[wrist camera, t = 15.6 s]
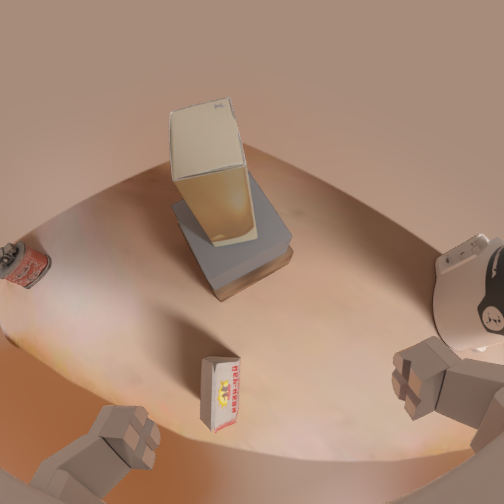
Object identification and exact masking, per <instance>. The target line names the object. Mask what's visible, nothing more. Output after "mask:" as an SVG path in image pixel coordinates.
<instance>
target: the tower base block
mask: <svg viewBox="0 0 504 504" xmlns="http://www.w3.org/2000/svg"><path fill="white" fill-rule="evenodd" d="M178 225H179V227H180V229H181V231H182V233H183V235H184V237H185V239H186V241H187V243H188V245H189V247H190V249H191V251H192V253H193V255H194V256H195V254H194V252H193V250H192V248H191V246H190V244H189V242H188V240H187V238H186V236H185V234H184V232H183V230H182V228H181V226H180V224H179V223H178ZM293 252H294V251H293V250H292V248H291V247H290V245H289V246H288V249H287V252H286V253H284V254H282V255H281V256H279V257H277V258H275V259H273V260H271V261H270V262H268V263H266V264H264V265H262V266H260V267H258V268H257V269H255V270H253V271H251V272H249V273H247V274H245V275H244V276H242V277H240V278H238V279H236V280H234V281H232V282H230V283H229V284H227V285H225V286H223V287H221V288H219V289H217V290H214V288H213V287H212V286H211V284H210V283H209V282H208V283H209V284H210V286H211V288H212V290H213V292H214V293H215V295H216V297H217V298H218V299H219V300H220V302H223V301H224V300H226V299H228V298H230V297H231V296H233V295H235V294H237V293H239V292H240V291H242V290H244V289H246V288H247V287H249V286H251V285H253V284H254V283H256V282H258V281H259V280H261V279H263V278H265V277H266V276H268V275H270V274H272V273H273V272H275V271H277V270H278V269H280V268H282V267H284V266H285V265H287V264H289V261H290V259H291V257H292V255H293ZM195 258H196V256H195ZM196 260H197V258H196ZM197 262H198V260H197ZM198 264H199V262H198ZM199 266H200V264H199ZM200 268H201V266H200ZM201 270H202V268H201ZM202 271H203V270H202ZM203 273H204V272H203ZM204 275H205V274H204ZM205 277H206V276H205ZM206 279H207V278H206ZM207 281H208V280H207Z"/></svg>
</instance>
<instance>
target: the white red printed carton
mask: <svg viewBox="0 0 504 504" xmlns="http://www.w3.org/2000/svg"><path fill="white" fill-rule="evenodd" d="M239 381H240V358H236V357H220V356H209V357H206V358H203V359H202V367H201V401H200V419H201V420H202V421H203V423H204V424H205V425H206V426H207V427H208V428H209V429H210V431H212V428H213V427H214V432H215V433H216V432H217V431H218V430H220V429H222V428H224V427H226V426H229V425H231V424H233V423H235V422H236V418H237V414H238V409H239Z"/></svg>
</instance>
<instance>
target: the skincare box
mask: <svg viewBox="0 0 504 504" xmlns="http://www.w3.org/2000/svg"><path fill="white" fill-rule="evenodd" d="M169 148H170V164H171V174H172V181H173V183H174V184H175V186H176V187H177V189H178V190H179V192H180V194H181V195H182V197H183V198H184V200H185V202H186V203H187V205H188V206H189V208H190V209H191V211H192V213H193V214H194V216H195V217H196V219H197V220H198V222H199V224H200V225H201V227H202V228H203V230H204V231H205V233H206V234H207V236H208V238H209V239H210V241H211V242H212V244H213V245H214V247H219V246H224V245H230V244H235V243H240V242H245V241H250V240H254V239H257V237H258V235H257V228H256V222H255V215H254V209H253V202H252V195H251V189H250V182H249V176H248V169H247V163H246V159H245V154H244V150H243V146H242V141H241V137H240V133H239V129H238V125H237V121H236V117H235V113H234V110H233V105H232V102H231V98H230V97H227V98H223V99H218V100H213V101H209V102H205V103H200V104H196V105H192V106H188V107H185V108H182V109H179V110H176V111H172V112H171V113H170V119H169Z"/></svg>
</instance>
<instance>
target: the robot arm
mask: <svg viewBox="0 0 504 504" xmlns="http://www.w3.org/2000/svg"><path fill="white" fill-rule="evenodd" d="M446 261H447V262H446ZM435 267H436V276H437V279H436V285H435V290H434V296H433V312H434V319H435V323H436V327H437V329H438V332H439V334H440V336H441V338H442V339H443V341H444V342H445V343H446V344H447V345H448V346H449V347H451V348H452V349H455V350H458V351H463V350H468V349H472V350H474V351H476V352H483V351H485V349H486V348H487V346H491V345H495V344H499V343H503V342H504V240H502V239H501V238H499V237H497V238H495V239H493V240H491V241H490V240H489V239H488V238H487V237H486V236H484V235H483V234H481V233H480V234H478V235H476V236H474V237H473V238H471V239H469V240H468V241H466V242H464V243H463V244H461V245H459V246H457V247H456V248H454V249H452V250H450V251H448V252H447V253H445V254H443V255H441V256H439V257H438V258H437V259H436V262H435ZM449 347H447V346H446V345H445V344H444V343H443V342H442V341H441V340H440V339H438V338H437V337H435V336H432V337H430V338H428V339H426V340H424V341H422V342H421V343H418V344H416V345H413V346H411V347H409V348H407V349H404V350H402V351H400V352H397V353H395V354H394V357H393V364H394V366H395V367H396V369H395V370H394V372H393V373H392V385H393V389H394V391H395V394H396V395H397V397H398V399H400V400H403V401H405V407H404V408H405V409H406V411H407V413H408V414H409V416H410V417H411V419H412V420H413V421H414V420H416V419H418V418H420V417H423V416H425V415H427V414H429V413H431V412H433V411H435V410H436V412H438V413H440V414H442V415H445V416H447V417H449V418H451V419H454V420H456V421H458V422H461V423H463V424H465V425H468V426H470V427H473V428H475V429H477V432H476V434H475V435H474V437H473V439H472V441H471V444H470V446H471V447H472V449H473V450H474V452H475V454H474V455H473V456H471V457H470V458H468V459H467V460H466V461H464V462H463V463H461V464H460V465H458V466H457V467H455V468H453V469H452V470H450V471H449V472H447V473H445V474H444V475H442V476H440V477H438V478H437V479H435V480H433V481H431V482H429V483H428V484H426V485H424V486H422V487H420V488H418V489H416V490H414V491H412V492H410V493H408V494H406V495H403V496H401V497H399V498H397V499H394V500H392V501H390V502H387V503H385V504H504V365H499V364H493V363H488V362H482V361H477V360H472V359H467V358H465V359H464V360H462V359H461V358H460V357H458V356H457V355H456V354H455V353H454V352H453V351H452V350H451V349H450V348H449ZM148 414H149V413H148V412H147V411H146V409H145V408H144V407H142V406H120V405H117V406H113V405H106V406H104V407H103V408H102V409H101V411H100V413H99V415H98V416H97V418H96V420H95V422H94V423H93V425H92V427H91V429H90V431H89V432H88V434H87V435H83V436H81V437H80V438H78V439H77V440H75V441H74V442H72V443H71V444H69V445H68V446H66V447H64V448H63V449H61V450H60V451H58V452H57V453H55V454H53V455H52V456H50V457H49V458H47V459H45V460H44V461H42V462H41V464H40V466H39V468H38V469H37V471H36V473H35V475H34V476H33V478H32V480H31V482H30V484H27V483H25V482H23V481H21V480H20V479H18V478H16V477H15V476H13V475H11V474H10V473H8V472H6V471H5V470H3V469H2V468H0V504H107V503H105V502H103V501H102V500H101V499H102V498H103V497H104V496H105V495H106V494H107V493H108V492H109V491H111V489H113V488H114V486H115V485H117V484H118V483H119V482H120V481H121V480H122V479H123V478H124V476H126V475H127V473H128V472H129V471H130V470H131V468H132V469H145V470H152V468H153V464H154V461H155V457H156V455H155V453H154V450H155V449H156V448H157V447H158V446H159V442H160V432H159V429H158V427H157V425H156V424H155V422H153V421H152V420H150V419H149V418H148Z"/></svg>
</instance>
